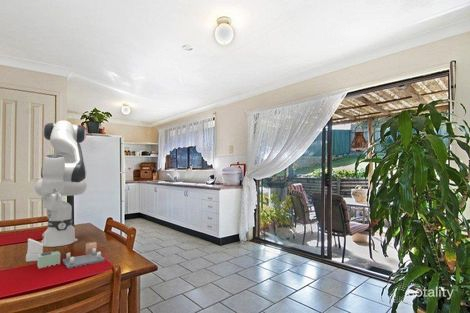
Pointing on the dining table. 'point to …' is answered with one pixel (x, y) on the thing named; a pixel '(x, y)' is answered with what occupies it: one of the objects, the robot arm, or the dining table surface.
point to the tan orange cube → (90, 247)
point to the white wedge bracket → (33, 250)
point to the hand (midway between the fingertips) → (51, 219)
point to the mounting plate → (83, 259)
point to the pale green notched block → (48, 259)
